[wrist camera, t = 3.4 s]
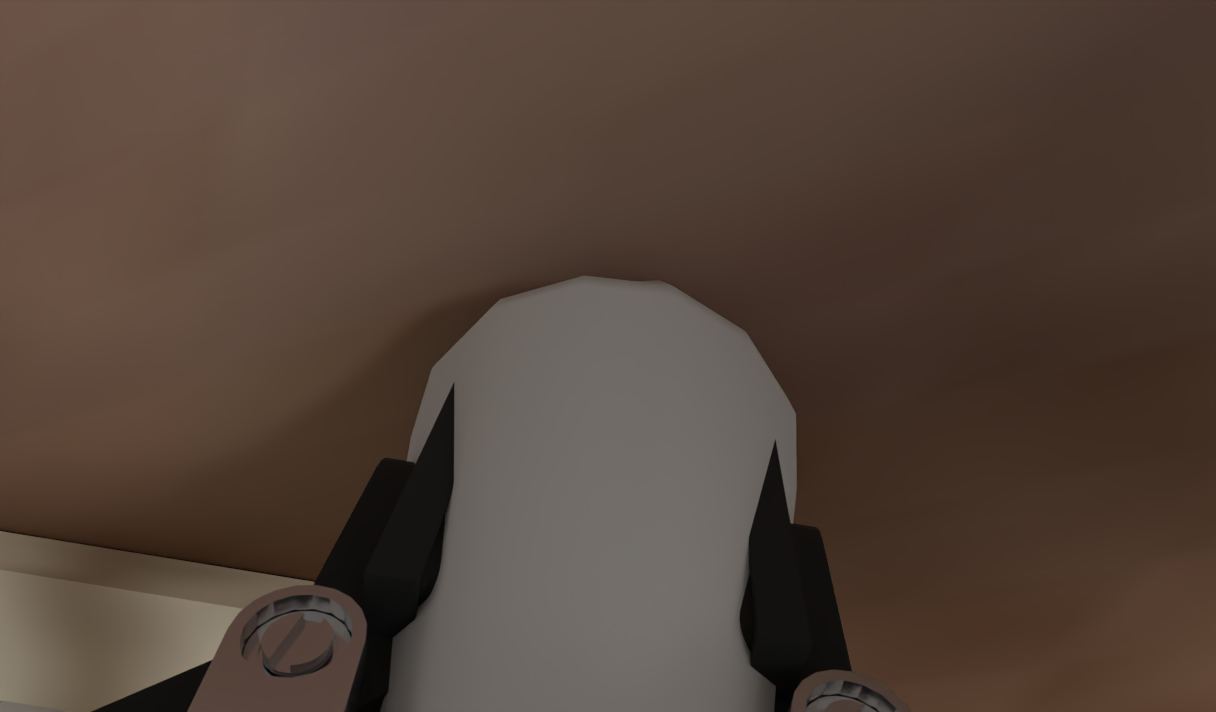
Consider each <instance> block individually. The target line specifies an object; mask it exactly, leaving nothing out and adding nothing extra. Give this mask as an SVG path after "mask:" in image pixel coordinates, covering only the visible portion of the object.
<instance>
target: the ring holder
mask: <svg viewBox="0 0 1216 712" xmlns="http://www.w3.org/2000/svg"><path fill="white" fill-rule="evenodd" d="M314 583H315V582H312V581H306V580H300V579H293V578H287V577H281V576H275V575H269V574H263V573H256V572H250V571H244V570H238V569H232V568H225V567H219V566H213V565H207V564H201V563H195V562H188V561H182V560H176V559H170V558H164V557H157V556H151V555H145V554H139V553H133V552H126V551H120V550H114V549H108V548H102V547H96V546H89V545H83V544H77V543H71V542H65V541H58V540H52V539H46V538H40V537H34V536H27V535H21V534H15V533H9V532H3V531H0V712H91V711H94V710H96V709H98V708H101V707H103V706H105V705H108V704H110V703H112V702H115V701H117V700H119V699H122V698H124V697H126V696H129V695H131V694H133V693H136V692H138V691H140V690H143V689H145V688H147V687H150V686H152V685H154V684H157V683H159V682H161V681H164V680H166V679H168V678H171V677H173V676H175V675H178V674H180V673H182V672H185V671H187V670H189V669H192V668H194V667H196V666H199V665H201V664H204V663H206V662H208V661H211V660H213V658H214V656H215V654H216V651H217V649H218V647H219V645H220V643H221V641H222V639H223V637H224V635H225V633H226V631H227V629H228V627H229V626H230V624H231V623H232V622H233V620H234V619H235V617H236V616H237V615H238V613H239V612H240V611H242V610H243V609H244V608H245V607H247V606H248V605H249V604H250V603H252V602H253V601H254V600H255V599H258V598H260V597H262V596H264V595H266V594H268V593H270V592H272V591H274V590H279V589H283V588H287V587H291V586H296V585H314Z"/></svg>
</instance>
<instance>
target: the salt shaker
mask: <svg viewBox="0 0 1216 712" xmlns="http://www.w3.org/2000/svg"><path fill="white" fill-rule="evenodd" d="M453 383H454V484H453V490H452V493H451V497H450V500H449V504H448V507H447V510H446V513H445V527H444V537H443V547H442V557H441V565H440V571H439V574H438V577H437V580H436V583H435V585H434V588H433V590H432V592H431V594H430V596H429V597H428V598H427V599H426V600H425V601H424V602H423V603H422V604H421V605H420V606H419V607H418V611H417V614H416V617H415V620H414V621H413V622H411V623H410V624H409V625H408V626H407V627H405V628H404V629H403V630H402V631H401V632H399V633H398V634H397V635H396V636H395V637H393V642H392V654H391V666H390V678H389V691H388V693H387V694H386V696H385V697H384V699H383V703H382V706H381V709H380V712H774V705H775V692H776V686H775V685H773V684H772V683H771V682H770V681H769V680H767V679H766V678H765V677H764V676H762V675H761V674H760V673H759V672H757V671H756V670H755V669H754V668H753V667H751V666H750V654H751V652H750V651H749V649H748V647H747V645H746V643H745V641H744V638H743V635H742V631H741V627H740V620H739V617H740V609H741V605H742V601H743V597H744V593H745V589H746V585H747V581H748V577H749V573H750V569H749V534H750V531H751V527H752V523H753V520H754V516H755V512H756V509H757V505H758V501H759V497H760V494H761V490H762V486H763V483H764V479H765V475H766V472H767V468H768V464H769V460H770V457H771V453H772V449H773V446H774V442H775V439H776V445H777V450H778V456H779V462H780V467H781V473H782V478H783V484H784V490H785V495H786V501H787V507H788V512H789V518H790V523H792V524H793V520H794V511H795V501H796V491H797V458H796V413H795V411H794V409H793V407H792V406H791V404H790V402H789V400H788V398H787V396H786V394H785V393H784V391H783V390H782V388H781V387H780V385H779V383H778V382H777V380H776V379H775V377H774V375H773V374H772V372H771V371H770V369H769V367H768V366H767V364H766V363H765V361H764V359H763V358H762V356H761V355H760V353H759V352H758V350H757V348H756V347H755V345H754V344H753V342H752V340H751V339H750V337H749V336H748V334H747V332H746V331H744V330H743V329H741V328H739V327H738V326H736V325H735V324H733V323H731V322H730V321H728V320H727V319H725V318H723V317H722V316H720V315H719V314H717V313H715V312H714V311H712V310H711V309H709V308H708V307H706V306H704V305H703V304H701V303H700V302H698V301H696V300H695V299H693V298H692V297H690V296H688V295H687V294H685V293H684V292H682V291H680V290H679V289H677V288H676V287H674V286H672V285H670V284H667V283H665V282H662V281H660V280H650V281H629V280H620V279H611V278H602V277H593V276H584V275H583V276H580V277H576V278H573V279H569V280H566V281H562V282H559V283H555V284H552V285H548V286H544V287H541V288H537V289H534V290H530V291H527V292H523V293H520V294H516V295H513V296H509V297H505V298H502V299H500V300H499V301H498V302H497V303H496V304H495V305H493V306H492V307H491V308H490V309H489V310H488V311H487V312H486V313H485V314H484V315H483V316H482V317H481V318H480V320H479V321H478V322H477V323H476V324H475V325H474V326H473V327H472V328H471V329H470V330H469V331H468V332H467V333H466V334H465V335H464V336H463V337H462V338H461V339H460V340H459V341H458V342H457V343H456V344H455V345H454V346H453V347H452V348H451V349H450V350H449V351H448V352H447V353H446V354H445V355H444V356H443V357H442V358H441V359H440V360H439V361H438V362H437V363H436V364H435V365H434V366H433V367H432V369H431V373H430V376H429V379H428V383H427V386H426V389H425V392H424V396H423V399H422V402H421V405H420V409H419V412H418V415H417V419H416V422H415V425H414V428H413V432H412V435H411V439H410V445H409V451H408V456H407V461H409V462H415V464H416V462H417V459H418V457H419V455H420V453H421V451H422V449H423V447H424V445H425V443H426V440H427V438H428V436H429V434H430V432H431V430H432V428H433V426H434V423H435V421H436V419H437V417H438V415H439V413H440V411H441V409H442V406H443V404H444V402H445V400H446V398H447V396H448V394H449V392H450V390H451V387H452V385H453Z"/></svg>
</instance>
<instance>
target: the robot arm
mask: <svg viewBox="0 0 1216 712" xmlns="http://www.w3.org/2000/svg"><path fill="white" fill-rule="evenodd" d="M453 484H454V383H453V385H452V387H451V390H450V392H449V394H448V396H447V398H446V400H445V402H444V404H443V406H442V409H441V411H440V413H439V415H438V417H437V419H436V421H435V423H434V426H433V428H432V430H431V432H430V434H429V436H428V438H427V440H426V443H425V445H424V447H423V449H422V451H421V453H420V455H419V457H418V459H417V462H416V464H415V462H409V461H403V460H397V459H390V458H384V459H382V460H381V462H380V463H379V465H378V466H377V468H376V470H375V471H374V473H373V475H372V477H371V479H370V481H369V483H368V484H367V486H366V488H365V490H364V492H363V494H362V496H361V497H360V499H359V501H358V503H357V505H356V507H355V509H354V510H353V512H352V514H351V516H350V518H349V520H348V522H347V523H346V525H345V527H344V529H343V531H342V533H341V535H340V537H339V538H338V540H337V542H336V544H335V546H334V548H333V550H332V551H331V553H330V555H329V557H328V559H327V561H326V563H325V564H324V566H323V568H322V570H321V572H320V574H319V576H318V577H317V579H316V581H315V583H314V585H296V586H291V587H287V588H283V589H279V590H274V591H272V592H270V593H268V594H266V595H264V596H262V597H260V598H258V599H255V600H254V601H253V602H252V603H250V604H249V605H248V606H247V607H245V608H244V609H243V610H242V611H240V612H239V613H238V615H237V616H236V617H235V619H234V620H233V622H232V623H231V624H230V626H229V627H228V629H227V631H226V633H225V635H224V637H223V639H222V641H221V643H220V645H219V647H218V649H217V651H216V654H215V656H214V658H213V660H211V661H208V662H206V663H204V664H201V665H199V666H196V667H194V668H192V669H189V670H187V671H185V672H182V673H180V674H178V675H175V676H173V677H171V678H168V679H166V680H164V681H161V682H159V683H157V684H154V685H152V686H150V687H147V688H145V689H143V690H140V691H138V692H136V693H133V694H131V695H129V696H126V697H124V698H122V699H119V700H117V701H115V702H112V703H110V704H108V705H105V706H103V707H101V708H98V709H96V710H94V711H91V712H380V709H381V706H382V703H383V699H384V697H385V696H386V694H387V693H388V691H389V678H390V666H391V654H392V642H393V637H395V636H396V635H397V634H398V633H399V632H401V631H402V630H403V629H404V628H405V627H407V626H408V625H409V624H410V623H411V622H413V621H414V620H415V617H416V614H417V611H418V607H419V606H420V605H421V604H422V603H423V602H424V601H425V600H426V599H427V598H428V597H429V596H430V594H431V592H432V590H433V588H434V585H435V583H436V580H437V577H438V574H439V571H440V565H441V557H442V547H443V537H444V527H445V513H446V510H447V507H448V504H449V500H450V497H451V493H452V490H453ZM749 569H750V573H749V577H748V581H747V585H746V589H745V593H744V597H743V601H742V605H741V609H740V617H739V620H740V627H741V631H742V635H743V638H744V641H745V643H746V645H747V647H748V649H749V651H750V652H751V654H750V666H751V667H753V668H754V669H755V670H756V671H757V672H759V673H760V674H761V675H762V676H764V677H765V678H766V679H767V680H769V681H770V682H771V683H772V684H773V685H775V686H776V692H775V705H774V712H912V711H911V710H910V708H909V707H908V705H907V704H906V703H904V702H903V701H902V700H901V699H900V698H899V697H898V696H897V695H896V694H895V693H894V692H893V691H891V690H890V689H888V688H887V687H885V686H883V685H882V684H880V683H879V682H877V681H875V680H874V679H872V678H869V677H866V676H863V675H861V674H858V673H855V672H852V670H851V665H850V661H849V656H848V652H847V647H846V643H845V638H844V634H843V629H842V625H841V620H840V616H839V612H838V607H837V603H836V598H835V594H834V589H833V585H832V580H831V576H830V571H829V567H828V562H827V558H826V553H825V549H824V544H823V540H822V537H821V534H820V531H819V530H818V529H817V528H816V527H811V526H805V525H799V524H792V523H790V518H789V512H788V507H787V501H786V495H785V490H784V484H783V478H782V473H781V467H780V462H779V456H778V450H777V445H776V439H775V442H774V446H773V449H772V453H771V457H770V460H769V464H768V468H767V472H766V475H765V479H764V483H763V486H762V490H761V494H760V497H759V501H758V505H757V509H756V512H755V516H754V520H753V523H752V527H751V531H750V534H749Z"/></svg>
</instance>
